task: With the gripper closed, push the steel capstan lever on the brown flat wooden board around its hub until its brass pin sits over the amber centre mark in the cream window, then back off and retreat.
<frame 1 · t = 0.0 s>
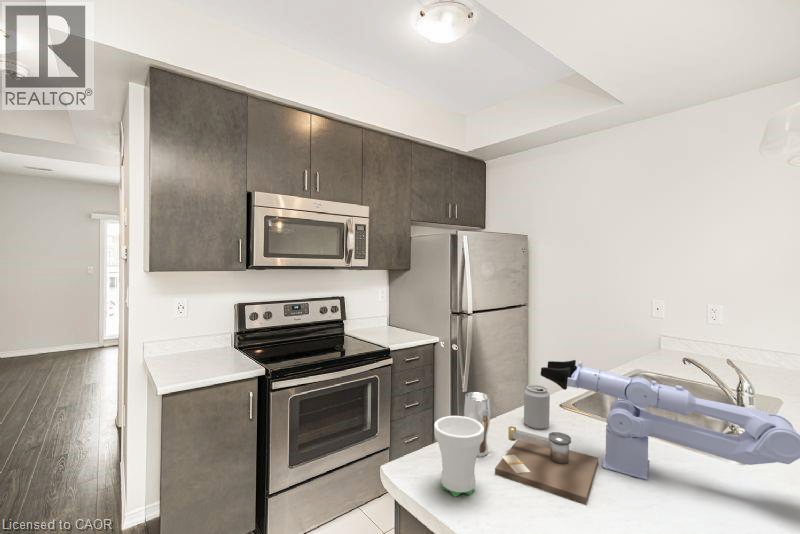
hand: (544, 368, 106), 22 cm above the countertop, tool horizontal, fingers open, 7 cm apart
brown flat wooden board: (548, 468, 95), on the countertop
can: (536, 425, 119), on the countertop
beer glass: (476, 451, 103), on the countertop
cup: (458, 488, 86), on the countertop
capstan: (538, 442, 99), point 5 cm above the countertop, hinge at 0.0°
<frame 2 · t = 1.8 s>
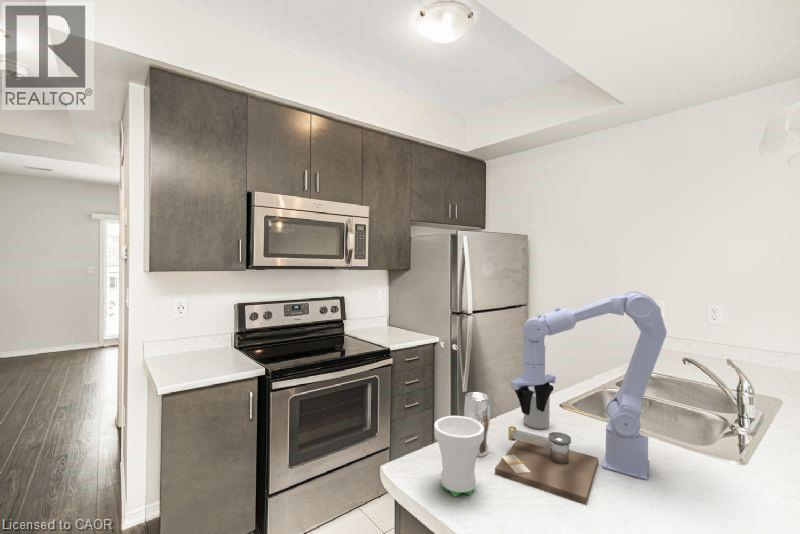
hand: (533, 411, 104), 10 cm above the countertop, tool pointing down, fingers open, 5 cm apart
nothing on the countertop moved.
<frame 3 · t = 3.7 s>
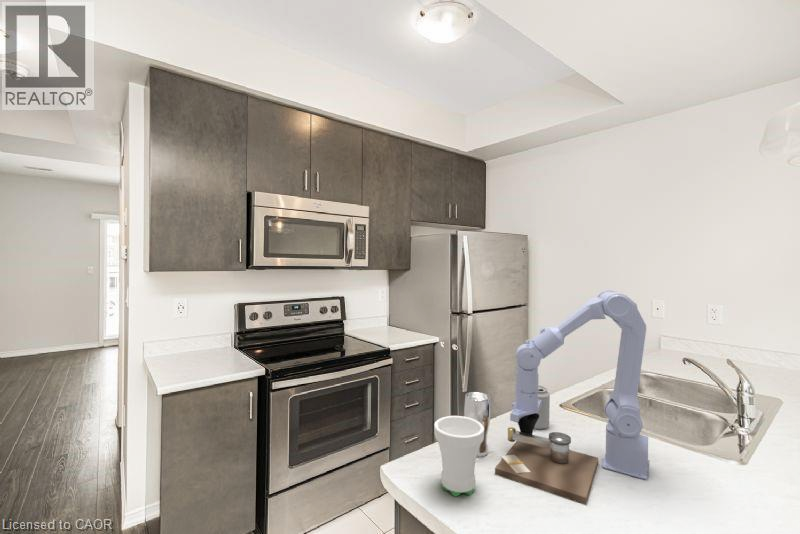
hand: (526, 440, 102), 3 cm above the countertop, tool pointing down, fingers closed
capstan: (538, 442, 98), point 5 cm above the countertop, hinge at 3.3°, touching gripper
everything else where it was.
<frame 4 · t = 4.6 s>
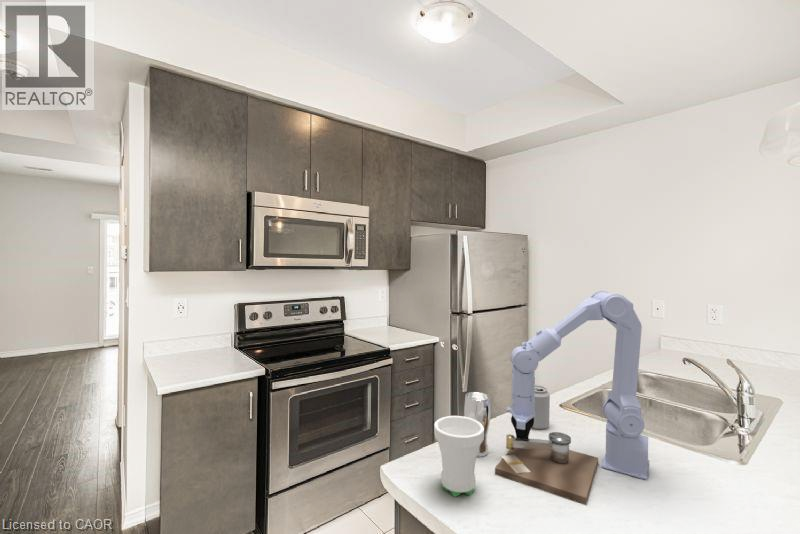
hand: (522, 445, 99), 3 cm above the countertop, tool pointing down, fingers closed
capstan: (537, 445, 97), point 5 cm above the countertop, hinge at 24.9°, touching gripper
everything else where it was.
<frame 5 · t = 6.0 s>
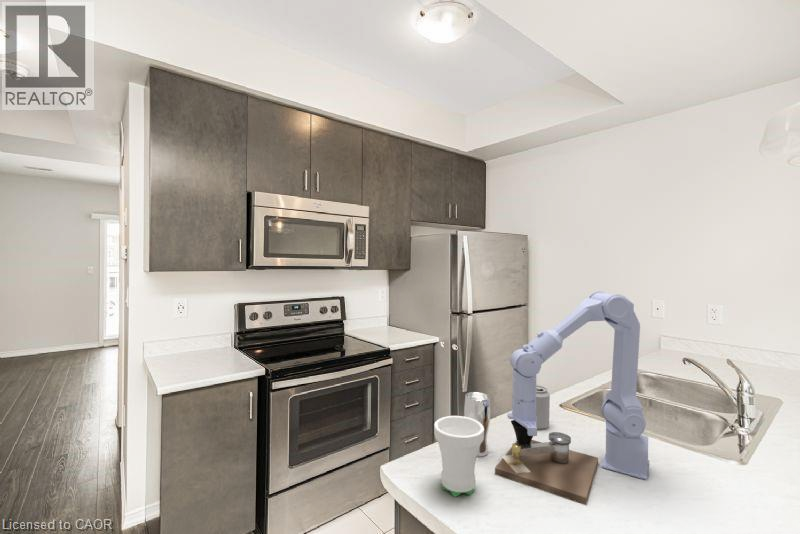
hand: (523, 451, 96), 3 cm above the countertop, tool pointing down, fingers closed
capstan: (541, 449, 95), point 5 cm above the countertop, hinge at 47.1°, touching gripper
everything else where it was.
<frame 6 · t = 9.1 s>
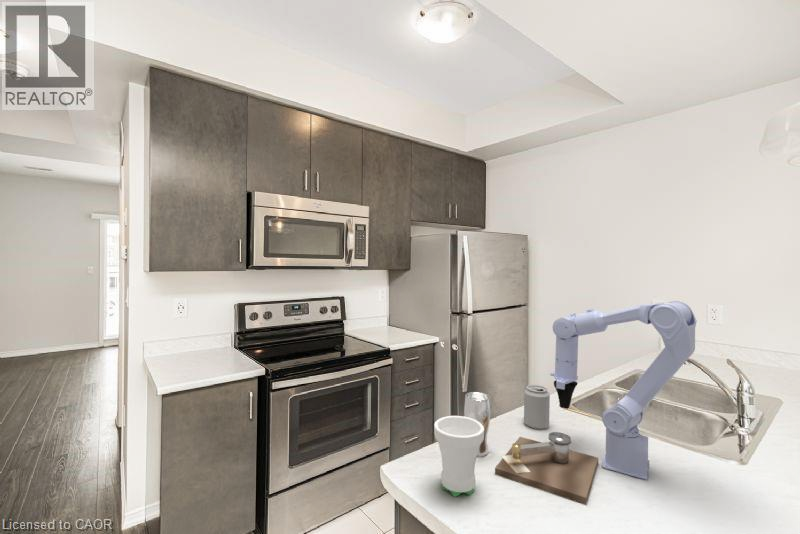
hand: (564, 407, 107), 10 cm above the countertop, tool pointing down, fingers closed
capstan: (541, 449, 95), point 5 cm above the countertop, hinge at 47.1°
everything else where it was.
at the end: capstan at +47° (first picture: +0°) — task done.
